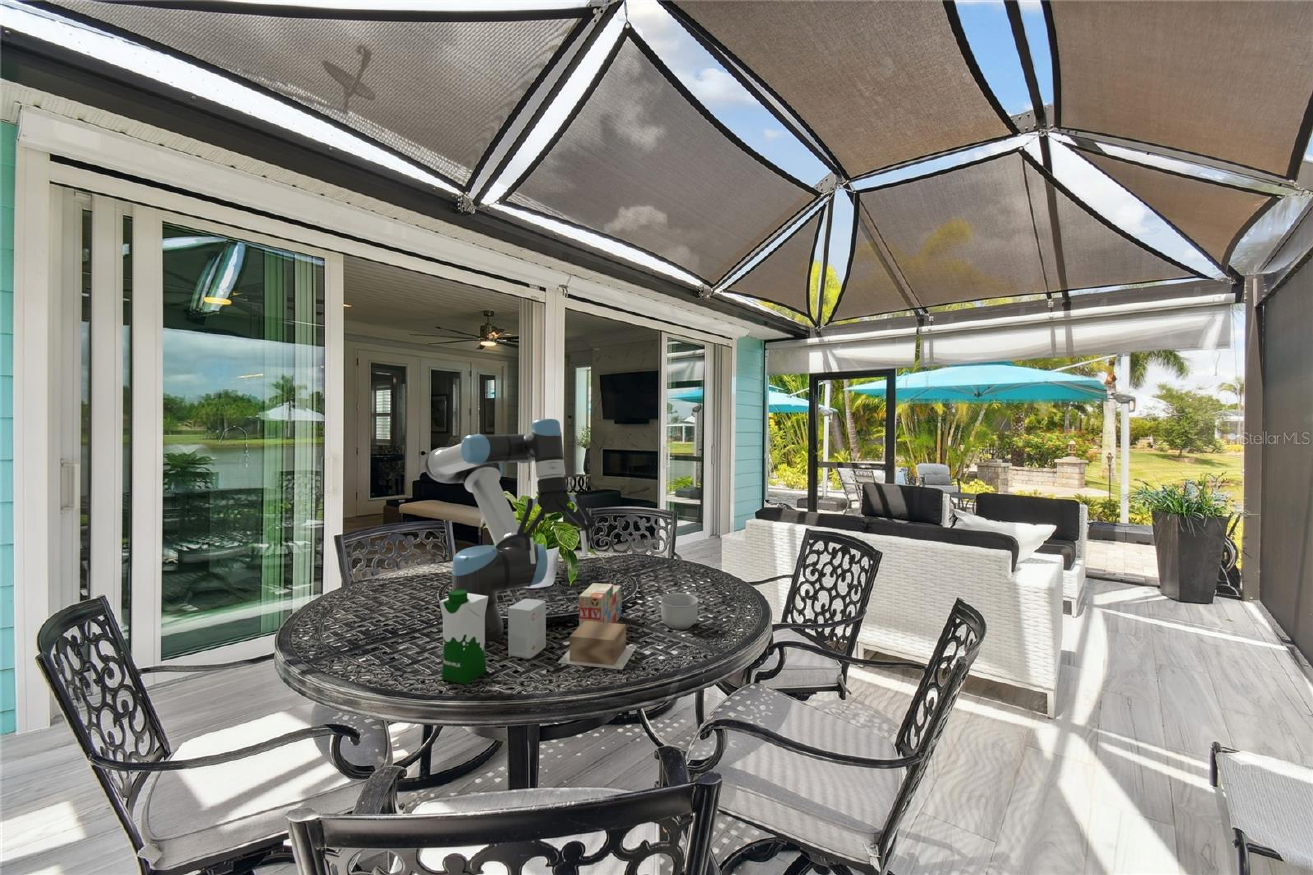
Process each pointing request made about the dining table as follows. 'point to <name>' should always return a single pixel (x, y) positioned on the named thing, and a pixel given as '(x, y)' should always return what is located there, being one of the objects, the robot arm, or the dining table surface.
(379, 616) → the dining table surface
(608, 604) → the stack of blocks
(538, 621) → the small box
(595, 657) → the walnut brick
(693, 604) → the teacup
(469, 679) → the milk carton
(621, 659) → the baseplate
